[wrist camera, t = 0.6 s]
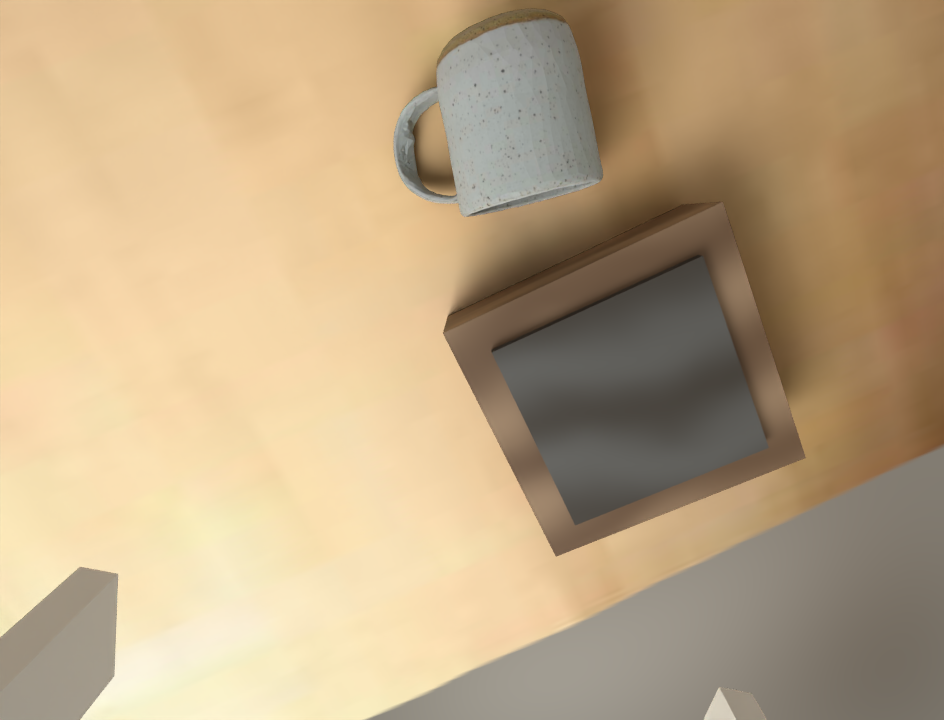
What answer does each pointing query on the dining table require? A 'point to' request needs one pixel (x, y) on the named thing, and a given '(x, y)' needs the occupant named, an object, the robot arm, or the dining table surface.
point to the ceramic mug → (508, 115)
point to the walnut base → (629, 377)
